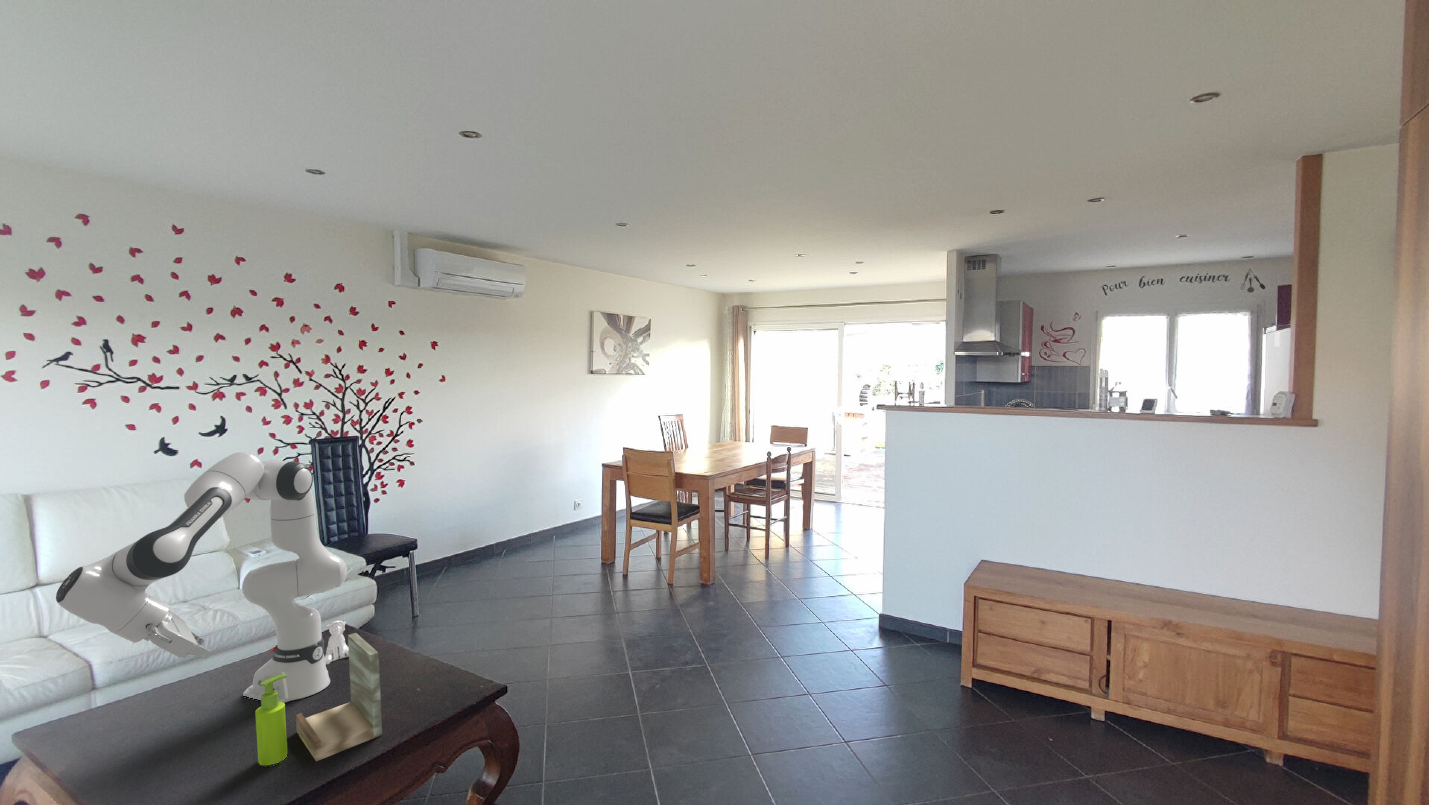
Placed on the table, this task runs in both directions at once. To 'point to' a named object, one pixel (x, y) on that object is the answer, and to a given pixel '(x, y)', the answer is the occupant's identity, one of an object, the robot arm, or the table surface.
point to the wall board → (348, 708)
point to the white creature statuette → (336, 642)
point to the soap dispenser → (271, 725)
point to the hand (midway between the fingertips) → (205, 649)
